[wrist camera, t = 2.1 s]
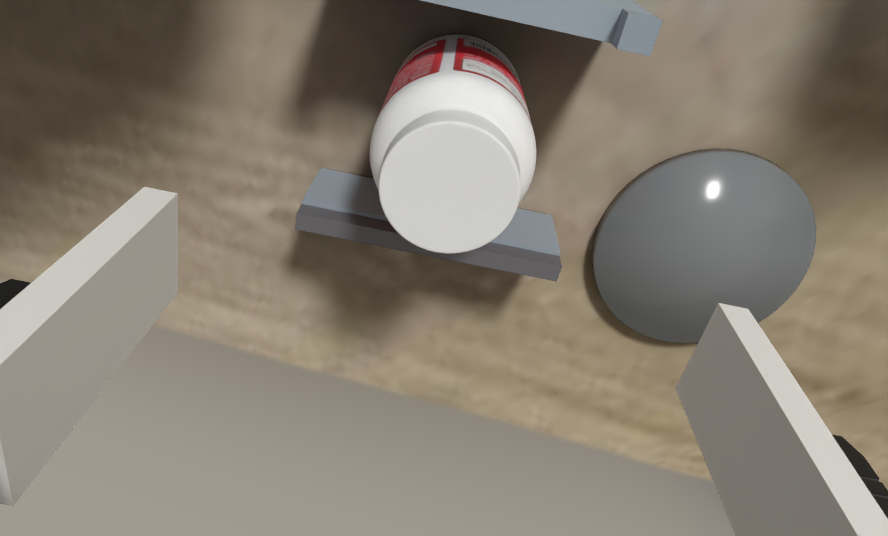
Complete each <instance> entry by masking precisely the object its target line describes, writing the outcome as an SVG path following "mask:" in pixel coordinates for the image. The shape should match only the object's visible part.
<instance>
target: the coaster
mask: <svg viewBox="0 0 888 536" xmlns="http://www.w3.org/2000/svg"><path fill="white" fill-rule="evenodd" d="M815 243H816V223H815V216H814V213H813V210H812V206H811V204H810V202H809V200H808V198H807V196H806V194H805V193H804V191H803V190H802V189H801V187H800V186H799V185H798V183H797V182H795V181H794V180H793V179H792V178H791V177H790V176H789V175H788V174H787V173H786V172H784V171H783V170H782V169H781V168H780V167H778V166H777V165H775V164H774V163H772V162H771V161H769V160H767V159H764V158H762V157H760V156H758V155H755V154H751V153H748V152H745V151H739V150H732V149H706V150H697V151H693V152H688V153H684V154H681V155H678V156H675V157H672V158H669V159H667V160H665V161H662V162H660V163H658V164H656V165H654V166H652V167H651V168H649V169H648V170H646V171H644V172H643V173H641V174H640V175H638V176H637V177H636V178H635V179H633V180H632V181H631V182H630V183H628V184H627V185H626V186H625V187H624V188H623V189H622V190H621V191H620V192H619V193H618V195H617V196H616V197H615V198H614V200H613V201H612V202H611V204H610V205H609V207H608V208H607V210H606V211H605V213H604V215H603V216H602V219H601V221H600V223H599V226H598V228H597V231H596V234H595V238H594V242H593V250H592V265H593V271H594V276H595V280H596V283H597V286H598V289H599V292H600V294H601V296H602V298H603V300H604V302H605V304H606V305H607V307H608V308H609V309H610V311H611V312H612V313H613V314H614V315H615V316H616V317H617V318H618V319H619V320H620V321H621V322H622V323H624V324H625V325H627V326H628V327H629V328H631V329H633V330H635V331H636V332H638V333H640V334H643V335H645V336H648V337H650V338H654V339H658V340H661V341H667V342H674V343H699V341H700V339H701V337H702V335H703V333H704V331H705V329H706V327H707V325H708V323H709V321H710V319H711V317H712V315H713V313H714V311H715V308H716V306H717V304H718V303H722V304H727V305H732V306H737V307H741V308H746V309H749V311H750V312H751V314H752V315H753V317H754V318H755V320H756V321H757V323H759V322H760V321H762V320H763V319H765V318H767V317H768V316H769V315H770V314H772V313H773V312H774V311H776V310H777V309H778V308H779V307H780V306H781V305H782V304H783V303H784V302H785V301H786V300H787V299H788V298H789V297H790V296H791V295H792V294H793V292H794V291H795V290H796V289H797V287H798V286H799V284H800V283H801V281H802V280H803V278H804V276H805V274H806V272H807V270H808V268H809V266H810V263H811V260H812V257H813V254H814V249H815Z"/></svg>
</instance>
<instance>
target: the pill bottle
mask: <svg viewBox="0 0 888 536" xmlns="http://www.w3.org/2000/svg"><path fill="white" fill-rule="evenodd" d="M370 165H371V170H372V174H373V178H374V181H375V183H376V186H377V188H378V190H379V198H380V202H381V205H382V209H383V211H384V213H385V215H386V217H387V219H388V221H389V222H390V224H391V225H392V226H393V227H394V229H395V230H396V231H397V232H398V233H399V234H400V235H401V236H402V237H404V238H405V239H406V240H408V241H409V242H411V243H412V244H414V245H416V246H418V247H420V248H423V249H426V250H429V251H433V252H438V253H447V254H449V253H462V252H467V251H471V250H474V249H477V248H479V247H481V246H483V245H485V244H487V243H489V242H490V241H492V240H493V239H495V238H496V237H497V236H498V235H499V234H500V233H502V232H503V231H504V229H505V228H506V227H507V226H508V224H509V223H510V222H511V220H512V218H513V216H514V214H515V212H516V210H517V207H518V204H519V203H520V201H521V200H522V198H523V197H524V195H525V194H526V192H527V190H528V188H529V186H530V184H531V181H532V178H533V175H534V171H535V166H536V141H535V135H534V131H533V127H532V123H531V120H530V116H529V112H528V108H527V104H526V101H525V97H524V93H523V89H522V86H521V82H520V79H519V77H518V75H517V73H516V71H515V69H514V67H513V65H512V64H511V62H510V61H509V60H508V58H507V57H506V56H505V55H504V54H503V53H502V52H501V51H500V50H499V49H497V48H496V47H495V46H493V45H492V44H490V43H488V42H486V41H484V40H482V39H479V38H476V37H473V36H468V35H446V36H442V37H438V38H435V39H432V40H430V41H428V42H426V43H424V44H422V45H421V46H419V47H418V48H417V49H415V50H414V51H413V52H412V53H411V54H410V55H409V56H408V57H407V58H406V59H405V61H404V62H403V63H402V65H401V66H400V68H399V70H398V71H397V73H396V75H395V77H394V80H393V82H392V84H391V87H390V89H389V92H388V94H387V96H386V99H385V101H384V103H383V106H382V108H381V111H380V113H379V115H378V118H377V120H376V123H375V126H374V129H373V132H372V137H371V142H370Z"/></svg>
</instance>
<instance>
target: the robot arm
mask: <svg viewBox="0 0 888 536" xmlns="http://www.w3.org/2000/svg"><path fill="white" fill-rule="evenodd" d="M177 293H178V193H173V192H168V191H163V190H158V189H153V188H148V187H144V188H142V189H141V190H140V191H139V192H138V193H137V194H135V195H134V196H133V197H132V198H131V199H129V200H128V201H127V202H126V203H125V204H124V205H122V206H121V207H120V208H119V209H118V210H117V211H115V212H114V213H113V214H112V215H111V216H109V217H108V218H107V219H106V220H105V221H104V222H102V223H101V224H100V225H99V226H98V227H97V228H95V229H94V230H93V231H92V232H91V233H89V234H88V235H87V236H86V237H85V238H84V239H82V240H81V241H80V242H79V243H78V244H77V245H75V246H74V247H73V248H72V249H71V250H69V251H68V252H67V253H66V254H65V255H64V256H62V257H61V258H60V259H59V260H58V261H56V262H55V263H54V264H53V265H52V266H51V267H49V268H48V269H47V270H46V271H45V272H44V273H42V274H41V275H40V276H39V277H38V278H36V279H35V280H34V281H33V282H32V283H29V282H24V281H19V280H14V279H10V280H8V281H5V282H3V283H0V504H6V505H12V506H13V505H14V504H15V503H16V502H17V500H18V499H19V498H20V496H21V495H22V494H23V493H24V491H25V490H26V489H27V487H28V486H29V485H30V484H31V482H32V481H33V479H34V478H35V477H36V476H37V474H38V473H39V472H40V471H41V469H42V468H43V466H44V465H45V464H46V463H47V461H48V460H49V459H50V458H51V456H52V455H53V454H54V452H55V451H56V450H57V449H58V447H59V446H60V445H61V443H62V442H63V441H64V439H65V438H66V437H67V435H68V434H69V433H70V431H71V430H72V429H73V428H74V426H75V425H76V424H77V423H78V421H79V420H80V419H81V417H82V416H83V415H84V413H85V412H86V411H87V410H88V408H89V407H90V406H91V404H92V403H93V402H94V401H95V399H96V398H97V397H98V395H99V394H100V393H101V391H102V390H103V389H104V388H105V386H106V385H107V384H108V382H109V381H110V380H111V379H112V377H113V376H114V374H115V373H116V372H117V371H118V369H119V368H120V367H121V366H122V364H123V363H124V362H125V360H126V359H127V358H128V356H129V355H130V354H131V353H132V351H133V350H134V349H135V347H136V346H137V345H138V344H139V342H140V341H141V340H142V338H143V337H144V336H145V334H146V333H147V332H148V331H149V329H150V328H151V327H152V325H153V324H154V323H155V322H156V320H157V319H158V318H159V316H160V315H161V314H162V312H163V311H164V310H165V309H166V307H167V306H168V305H169V303H170V302H171V301H172V300H173V298H174V297H175V296H176V294H177ZM676 390H677V393H678V395H679V398H680V400H681V403H682V405H683V407H684V410H685V412H686V415H687V417H688V420H689V422H690V425H691V427H692V430H693V432H694V435H695V437H696V439H697V442H698V444H699V447H700V449H701V452H702V454H703V457H704V459H705V462H706V464H707V467H708V469H709V471H710V474H711V476H712V479H713V481H714V484H715V486H716V489H717V491H718V494H719V496H720V499H721V501H722V503H723V506H724V508H725V511H726V513H727V516H728V518H729V521H730V523H731V525H732V528H733V531H734V533H735V535H736V536H888V490H887V489H886V488H885V486H884V485H883V483H881V482H879V477H878V476H877V475H876V473H875V472H874V470H873V469H872V467H871V466H870V465H869V463H868V462H867V460H866V459H865V457H864V456H863V455H861V454H860V453H859V452H858V451H857V450H856V449H855V448H854V447H853V446H852V445H851V444H849V443H848V442H847V441H846V440H845V439H844V438H843V437H842V436H836V435H832V434H831V433H830V431H829V430H828V428H827V427H826V425H825V424H824V422H823V421H822V419H821V418H820V416H819V415H818V413H817V412H816V410H815V409H814V407H813V406H812V404H811V403H810V401H809V400H808V398H807V397H806V395H805V394H804V392H803V391H802V389H801V388H800V386H799V385H798V383H797V382H796V380H795V379H794V377H793V376H792V374H791V373H790V371H789V369H788V368H787V366H786V365H785V363H784V362H783V360H782V359H781V357H780V356H779V354H778V353H777V351H776V350H775V348H774V347H773V345H772V344H771V342H770V341H769V339H768V338H767V336H766V335H765V333H764V332H763V330H762V329H761V327H760V326H759V324H758V323H757V321H756V320H755V318H754V317H753V315H752V314H751V312H750V311H749V309H746V308H741V307H737V306H732V305H727V304H722V303H718V304H717V306H716V308H715V311H714V313H713V315H712V317H711V319H710V321H709V323H708V325H707V327H706V329H705V331H704V333H703V335H702V337H701V339H700V341H699V343H698V345H697V347H696V349H695V351H694V353H693V355H692V357H691V359H690V361H689V363H688V365H687V367H686V369H685V371H684V373H683V375H682V377H681V379H680V381H679V383H678V385H677V387H676Z"/></svg>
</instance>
